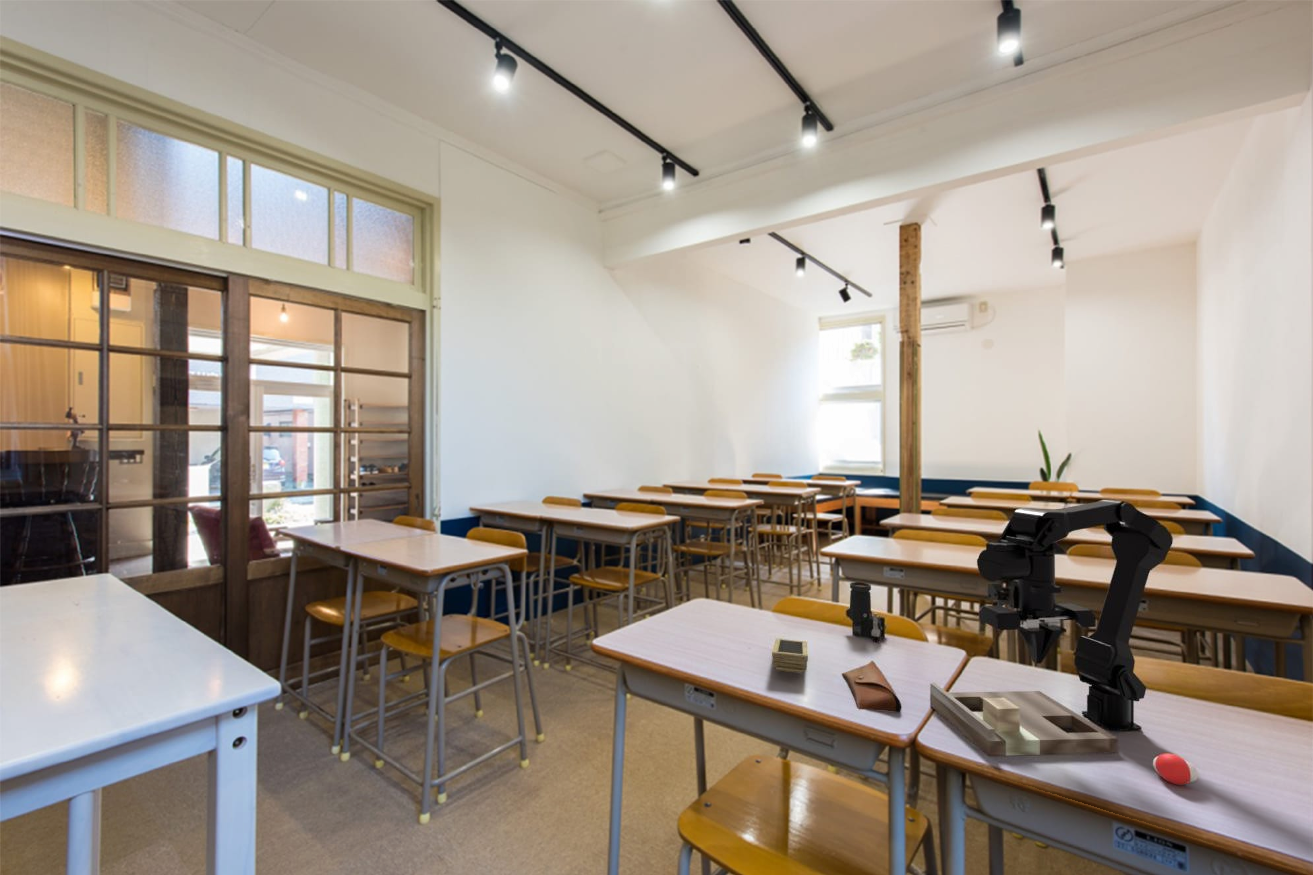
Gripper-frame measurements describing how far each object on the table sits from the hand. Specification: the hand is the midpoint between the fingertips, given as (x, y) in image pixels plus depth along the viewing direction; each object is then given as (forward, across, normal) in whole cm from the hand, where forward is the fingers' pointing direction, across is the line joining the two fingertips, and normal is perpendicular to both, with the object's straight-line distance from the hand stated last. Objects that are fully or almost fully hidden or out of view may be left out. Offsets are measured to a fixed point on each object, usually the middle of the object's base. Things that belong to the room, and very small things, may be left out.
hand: (1036, 662), depth 101 cm
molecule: (+13, -11, +15) cm, 23 cm away
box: (+12, +36, -33) cm, 50 cm away
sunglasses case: (+13, +24, -18) cm, 32 cm away
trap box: (+13, +3, -2) cm, 13 cm away
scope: (+13, +9, -51) cm, 53 cm away
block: (+10, +9, +2) cm, 13 cm away
